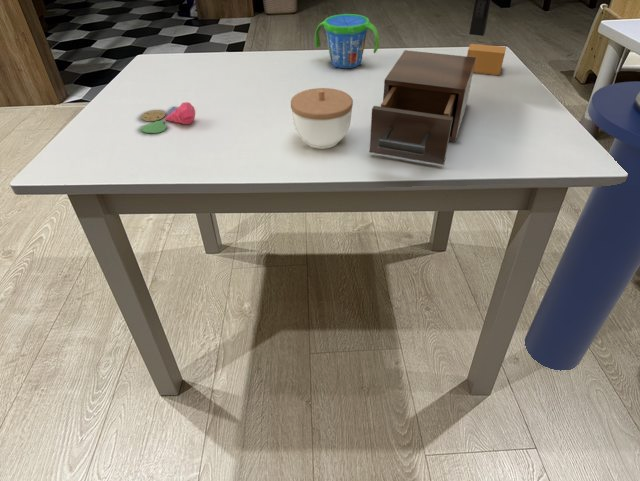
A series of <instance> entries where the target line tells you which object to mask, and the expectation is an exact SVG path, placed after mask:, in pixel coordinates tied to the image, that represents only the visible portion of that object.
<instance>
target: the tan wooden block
mask: <svg viewBox="0 0 640 481" xmlns="http://www.w3.org/2000/svg"><path fill="white" fill-rule="evenodd" d="M506 50H507V46H500V45H491V44H490V45H489V44H477V43H470V44H469V46H468V49H467V54H466V56H467V57H476V61H475V66H474V71H473V74H484V75H493V76H500V75H501V71H502V67H503V64H504V58H505V55H506Z"/></svg>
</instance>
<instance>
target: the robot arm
mask: <svg viewBox="0 0 640 481" xmlns="http://www.w3.org/2000/svg"><path fill="white" fill-rule="evenodd" d="M491 4H492V0H475V1H474V5H473V11H472V15H471V16H472V17H471V23H470V28H469V32H468V34H469V35H472V36H481V37H484V35H485V33H486V28H487V24H488V20H489V16H490V9H491ZM634 108H635V109H636V110H637V111H638V112H639V113H640V92H639V93H638V95H637V97H636V99H635V101H634Z"/></svg>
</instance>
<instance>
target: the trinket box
mask: <svg viewBox="0 0 640 481" xmlns="http://www.w3.org/2000/svg"><path fill="white" fill-rule="evenodd" d="M353 106H354V101H353V98H352V96H351V95H350V94H348V92H345V91H343V90H340V89H335V88H330V87H318V88H310V89H309V88H308V89H306V90H302V91H300V92H297V93H296V94H295V95H294V96H292V98H291V99H290V108H291V117H292V122H293V126H294V129H295V131H296V133H297V135H298V136H299V138H301V140H302V141H304V142H305V143H306V145H307V146H309V147H311V148H313V149H318V150H327V149H331V148H333V147H336V146H337V145H339V142H341V140H343V139H344V137H345V136H346V135H347V133H348V131H349V129H350V126H351V122H352V117H353V116H352V114H353Z"/></svg>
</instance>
